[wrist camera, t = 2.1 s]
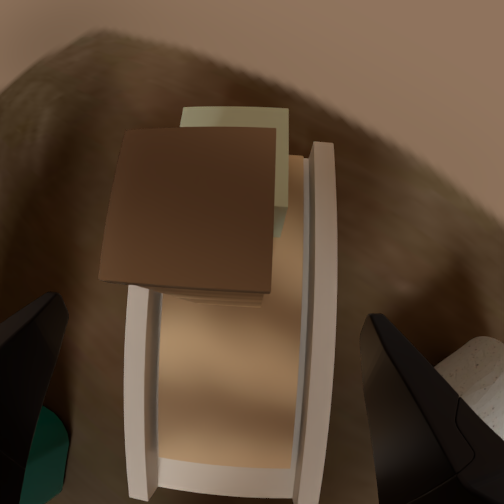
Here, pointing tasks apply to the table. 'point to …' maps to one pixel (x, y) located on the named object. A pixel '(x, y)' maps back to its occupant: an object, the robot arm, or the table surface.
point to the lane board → (309, 373)
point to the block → (252, 118)
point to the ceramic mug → (479, 378)
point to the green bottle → (45, 460)
